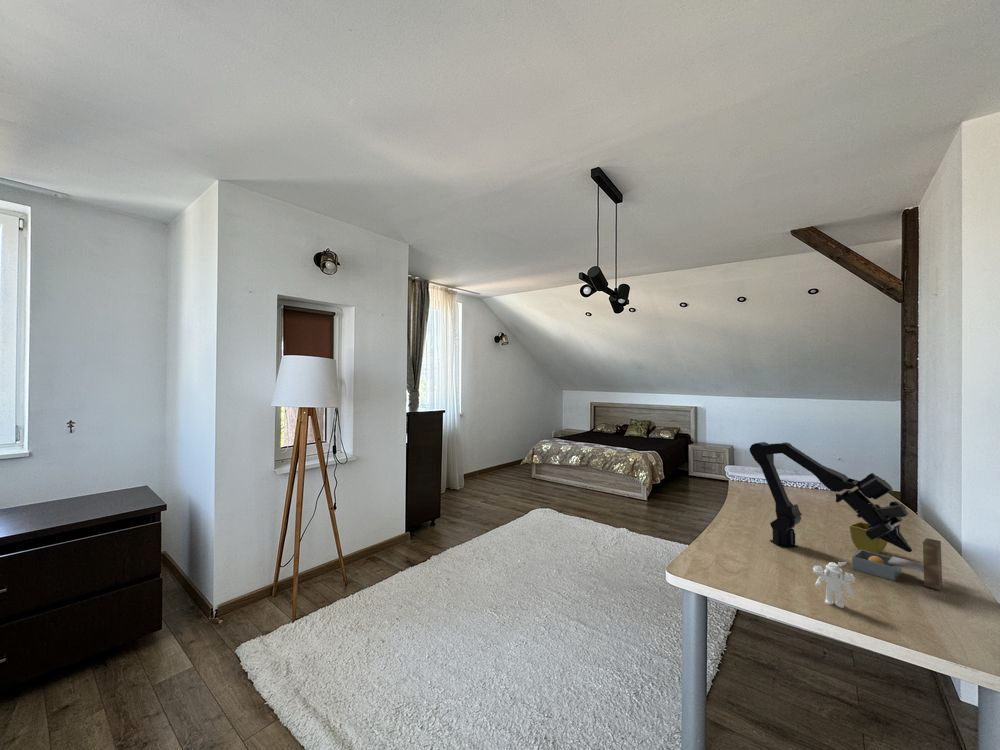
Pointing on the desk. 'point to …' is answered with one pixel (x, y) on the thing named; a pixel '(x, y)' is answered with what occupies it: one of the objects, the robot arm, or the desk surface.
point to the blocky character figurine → (834, 582)
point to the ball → (876, 559)
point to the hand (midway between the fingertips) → (910, 551)
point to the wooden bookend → (926, 563)
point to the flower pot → (865, 538)
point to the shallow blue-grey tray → (875, 565)
